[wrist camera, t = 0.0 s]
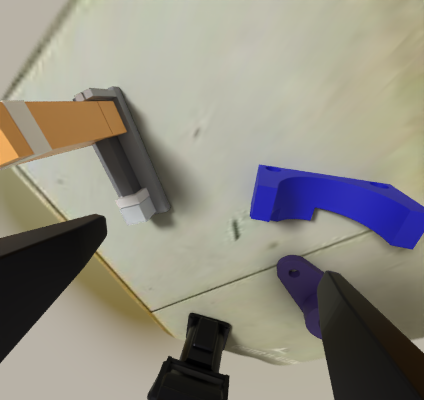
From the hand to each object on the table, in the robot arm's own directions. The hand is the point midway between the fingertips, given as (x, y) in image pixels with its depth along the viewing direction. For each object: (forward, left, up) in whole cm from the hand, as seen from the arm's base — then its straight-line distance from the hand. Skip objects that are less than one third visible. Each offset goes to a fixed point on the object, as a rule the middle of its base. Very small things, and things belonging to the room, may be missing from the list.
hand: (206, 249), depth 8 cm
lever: (-14, -12, -15) cm, 24 cm away
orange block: (+1, +14, -14) cm, 20 cm away
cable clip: (-2, -8, -15) cm, 17 cm away
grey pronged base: (-2, +13, -15) cm, 20 cm away
